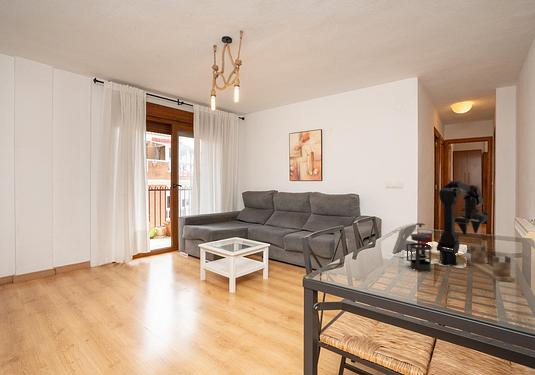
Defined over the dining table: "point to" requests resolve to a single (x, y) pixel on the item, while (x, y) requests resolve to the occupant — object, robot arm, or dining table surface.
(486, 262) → the steel bar
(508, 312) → the dining table surface
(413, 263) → the french press
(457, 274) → the dining table surface
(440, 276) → the dining table surface
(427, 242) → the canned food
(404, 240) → the phone holder
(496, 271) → the hook rack
